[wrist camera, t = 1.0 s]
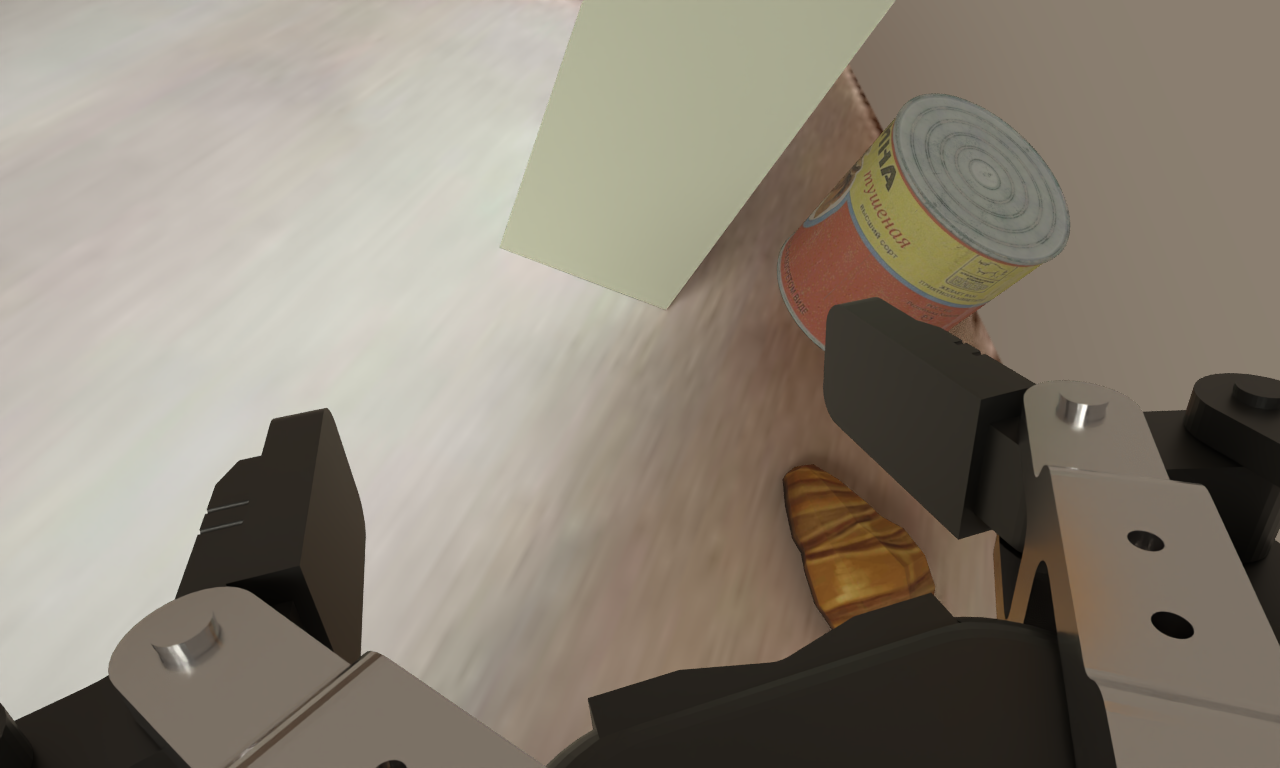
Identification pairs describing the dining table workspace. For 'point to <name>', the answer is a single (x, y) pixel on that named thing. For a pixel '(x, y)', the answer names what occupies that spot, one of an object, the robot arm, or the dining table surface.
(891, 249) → the canned food
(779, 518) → the dining table surface
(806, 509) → the croissant
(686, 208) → the stand
